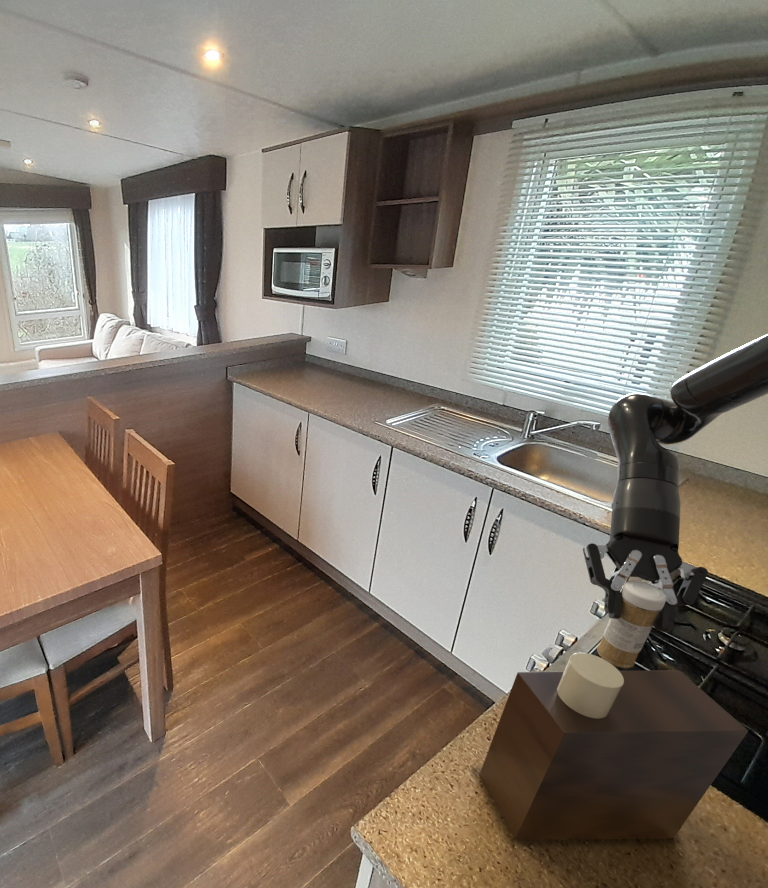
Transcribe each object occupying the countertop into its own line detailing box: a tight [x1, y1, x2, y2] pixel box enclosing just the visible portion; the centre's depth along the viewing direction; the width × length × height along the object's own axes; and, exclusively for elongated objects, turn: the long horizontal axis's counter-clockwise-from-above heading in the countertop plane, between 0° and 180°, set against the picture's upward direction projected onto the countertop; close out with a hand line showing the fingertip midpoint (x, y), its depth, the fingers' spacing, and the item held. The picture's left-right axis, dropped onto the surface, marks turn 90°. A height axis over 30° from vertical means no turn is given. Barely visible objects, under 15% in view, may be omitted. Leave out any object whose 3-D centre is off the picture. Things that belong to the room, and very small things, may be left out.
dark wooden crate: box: [478, 669, 749, 841], centre depth 60 cm, size 20×8×21 cm, turn 90°
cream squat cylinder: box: [557, 652, 624, 719], centre depth 55 cm, size 5×5×5 cm
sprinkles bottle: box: [596, 580, 667, 669], centre depth 71 cm, size 5×5×13 cm
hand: (637, 623), depth 69 cm, fingers closed on sprinkles bottle, 4 cm apart
